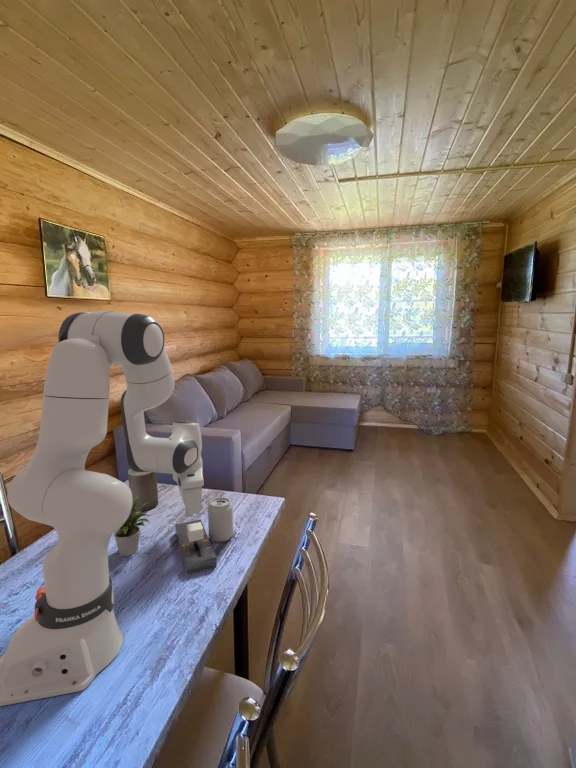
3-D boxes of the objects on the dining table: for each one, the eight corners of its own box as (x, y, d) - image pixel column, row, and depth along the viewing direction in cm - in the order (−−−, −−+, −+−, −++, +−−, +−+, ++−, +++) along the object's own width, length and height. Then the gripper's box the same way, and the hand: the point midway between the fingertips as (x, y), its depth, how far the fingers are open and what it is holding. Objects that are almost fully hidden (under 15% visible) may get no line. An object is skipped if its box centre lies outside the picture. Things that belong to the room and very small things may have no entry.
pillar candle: (161, 498, 145) (159, 461, 143) (154, 511, 136) (151, 471, 133) (135, 499, 145) (132, 461, 142) (126, 512, 135) (123, 472, 133)
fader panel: (186, 574, 102) (186, 564, 101) (175, 533, 122) (175, 524, 121) (216, 567, 105) (216, 556, 104) (200, 527, 125) (200, 519, 124)
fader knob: (189, 547, 108) (189, 531, 107) (187, 540, 112) (186, 524, 111) (203, 544, 110) (203, 528, 109) (201, 537, 113) (200, 521, 113)
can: (235, 531, 123) (234, 496, 121) (229, 544, 116) (229, 507, 114) (212, 529, 124) (211, 495, 122) (205, 543, 116) (204, 506, 114)
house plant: (105, 575, 101) (100, 518, 99) (92, 551, 112) (87, 499, 109) (157, 554, 110) (154, 502, 108) (141, 534, 121) (138, 485, 118)
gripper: (172, 462, 124) (174, 502, 126) (182, 486, 105) (183, 532, 108) (192, 459, 126) (193, 498, 129) (205, 482, 108) (206, 528, 110)
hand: (189, 514), depth 118 cm, fingers closed
